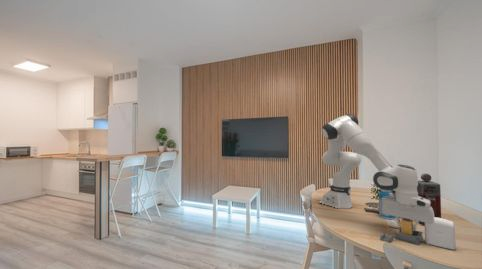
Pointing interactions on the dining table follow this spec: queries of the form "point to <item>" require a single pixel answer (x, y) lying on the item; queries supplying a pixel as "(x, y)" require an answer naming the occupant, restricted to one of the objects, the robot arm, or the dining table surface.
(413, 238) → the end holder
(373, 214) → the dining table surface
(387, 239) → the clip
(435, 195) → the dark red decanter
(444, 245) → the photo printer
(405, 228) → the block
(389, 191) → the beverage bottle
